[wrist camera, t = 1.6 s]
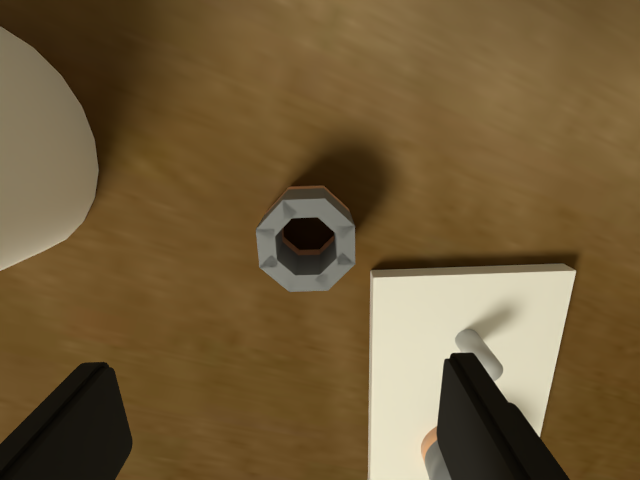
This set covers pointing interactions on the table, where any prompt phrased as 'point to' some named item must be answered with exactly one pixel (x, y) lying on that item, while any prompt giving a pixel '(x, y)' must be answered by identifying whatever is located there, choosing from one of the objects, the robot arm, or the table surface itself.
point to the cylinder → (40, 154)
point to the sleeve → (306, 265)
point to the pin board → (456, 351)
